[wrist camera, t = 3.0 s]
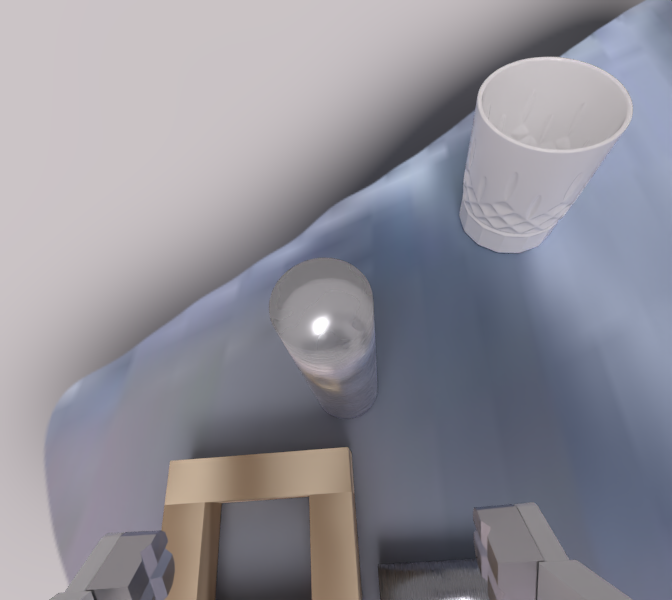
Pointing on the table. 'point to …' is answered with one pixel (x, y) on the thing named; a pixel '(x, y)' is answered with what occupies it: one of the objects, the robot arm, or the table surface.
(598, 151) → the white cup
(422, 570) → the pin
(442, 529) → the table surface
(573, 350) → the table surface
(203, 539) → the socket block
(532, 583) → the robot arm
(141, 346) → the table surface
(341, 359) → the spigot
